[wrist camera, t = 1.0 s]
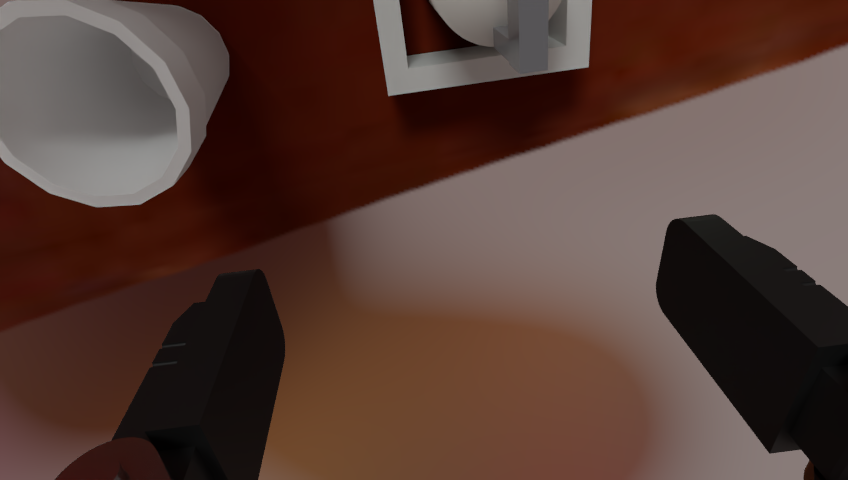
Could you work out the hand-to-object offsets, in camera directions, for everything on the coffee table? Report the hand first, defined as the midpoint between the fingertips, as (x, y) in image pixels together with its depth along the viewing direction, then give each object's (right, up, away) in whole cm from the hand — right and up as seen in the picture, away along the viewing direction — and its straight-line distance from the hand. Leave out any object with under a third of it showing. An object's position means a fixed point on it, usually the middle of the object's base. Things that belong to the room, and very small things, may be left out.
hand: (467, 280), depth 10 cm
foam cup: (-17, +13, +23) cm, 32 cm away
